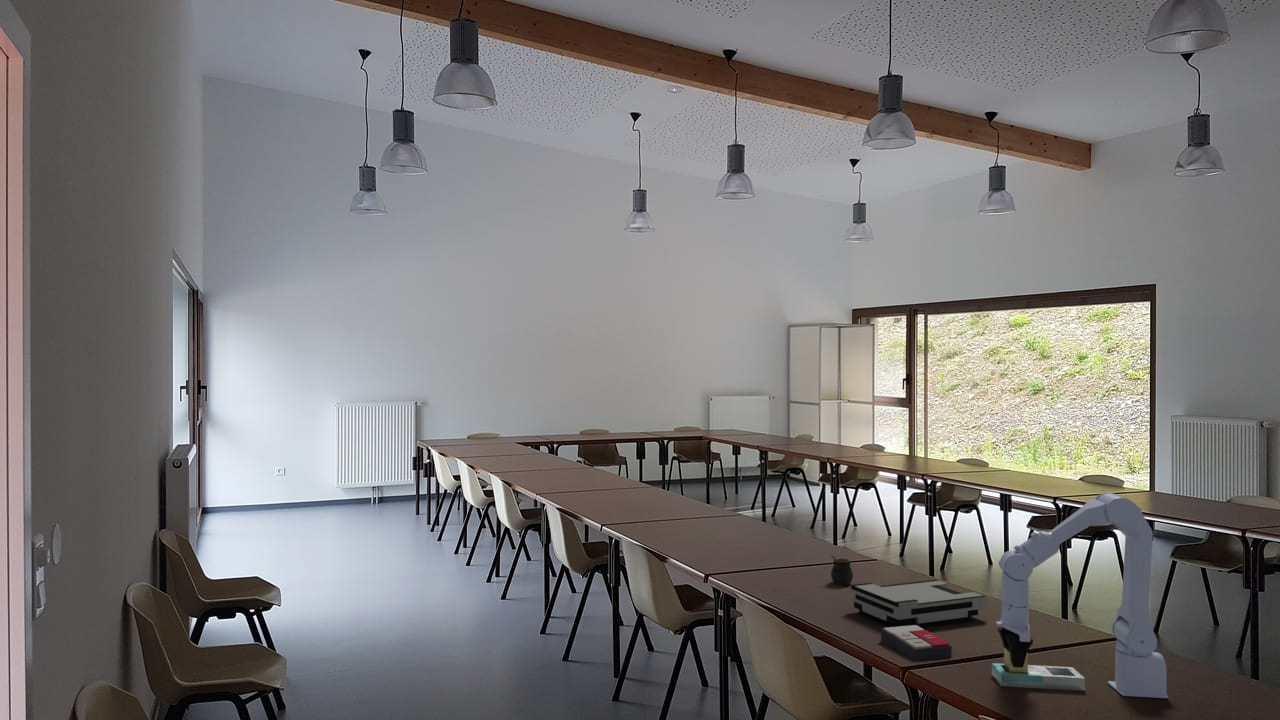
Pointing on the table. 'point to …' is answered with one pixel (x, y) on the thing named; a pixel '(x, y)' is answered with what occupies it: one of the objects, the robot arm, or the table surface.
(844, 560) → the mate gourd
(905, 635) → the calculator
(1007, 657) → the nut
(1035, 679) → the white teal tray block
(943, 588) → the game console
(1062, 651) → the table surface
